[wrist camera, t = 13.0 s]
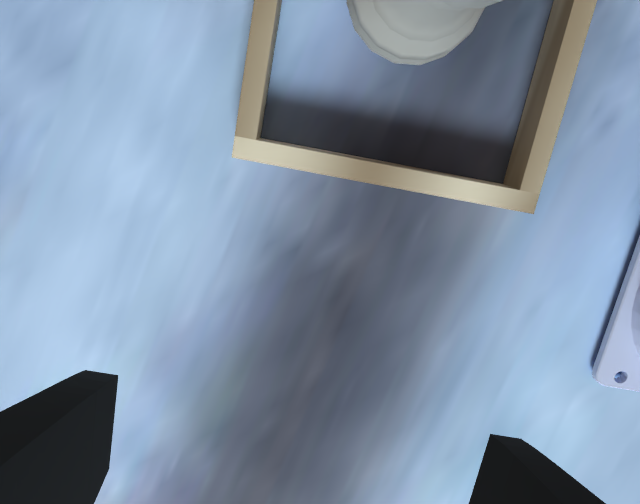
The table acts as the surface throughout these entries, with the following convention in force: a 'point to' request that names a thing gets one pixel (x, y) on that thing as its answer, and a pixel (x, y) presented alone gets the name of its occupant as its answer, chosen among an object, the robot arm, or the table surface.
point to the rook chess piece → (415, 26)
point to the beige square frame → (515, 193)
